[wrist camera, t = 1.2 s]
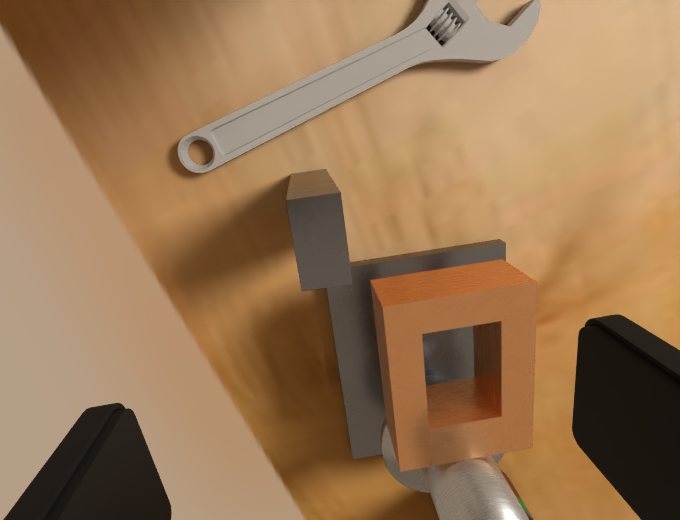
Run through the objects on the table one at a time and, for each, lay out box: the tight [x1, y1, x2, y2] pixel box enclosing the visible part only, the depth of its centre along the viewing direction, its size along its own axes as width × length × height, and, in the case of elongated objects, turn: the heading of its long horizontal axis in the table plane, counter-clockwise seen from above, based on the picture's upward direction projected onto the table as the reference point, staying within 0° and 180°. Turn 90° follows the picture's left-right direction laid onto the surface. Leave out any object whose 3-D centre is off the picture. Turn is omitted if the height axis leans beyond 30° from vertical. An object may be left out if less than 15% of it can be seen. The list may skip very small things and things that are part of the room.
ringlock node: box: [326, 239, 537, 520], centre depth 27 cm, size 19×14×15 cm
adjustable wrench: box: [178, 0, 541, 173], centre depth 26 cm, size 25×6×2 cm, turn 111°
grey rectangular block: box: [286, 169, 353, 291], centre depth 24 cm, size 4×2×11 cm, turn 8°
